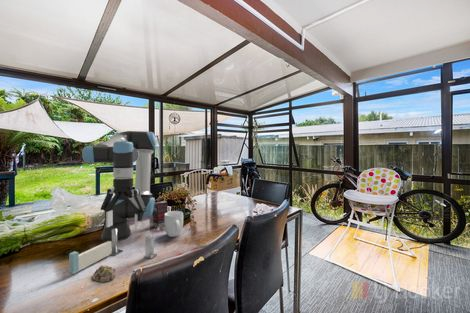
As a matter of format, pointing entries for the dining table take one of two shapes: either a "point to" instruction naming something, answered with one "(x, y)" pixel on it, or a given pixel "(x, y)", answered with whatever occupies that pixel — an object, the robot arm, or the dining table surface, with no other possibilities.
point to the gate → (88, 257)
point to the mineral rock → (104, 274)
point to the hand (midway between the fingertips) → (123, 227)
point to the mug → (173, 223)
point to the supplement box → (159, 213)
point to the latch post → (150, 247)
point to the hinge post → (115, 243)
